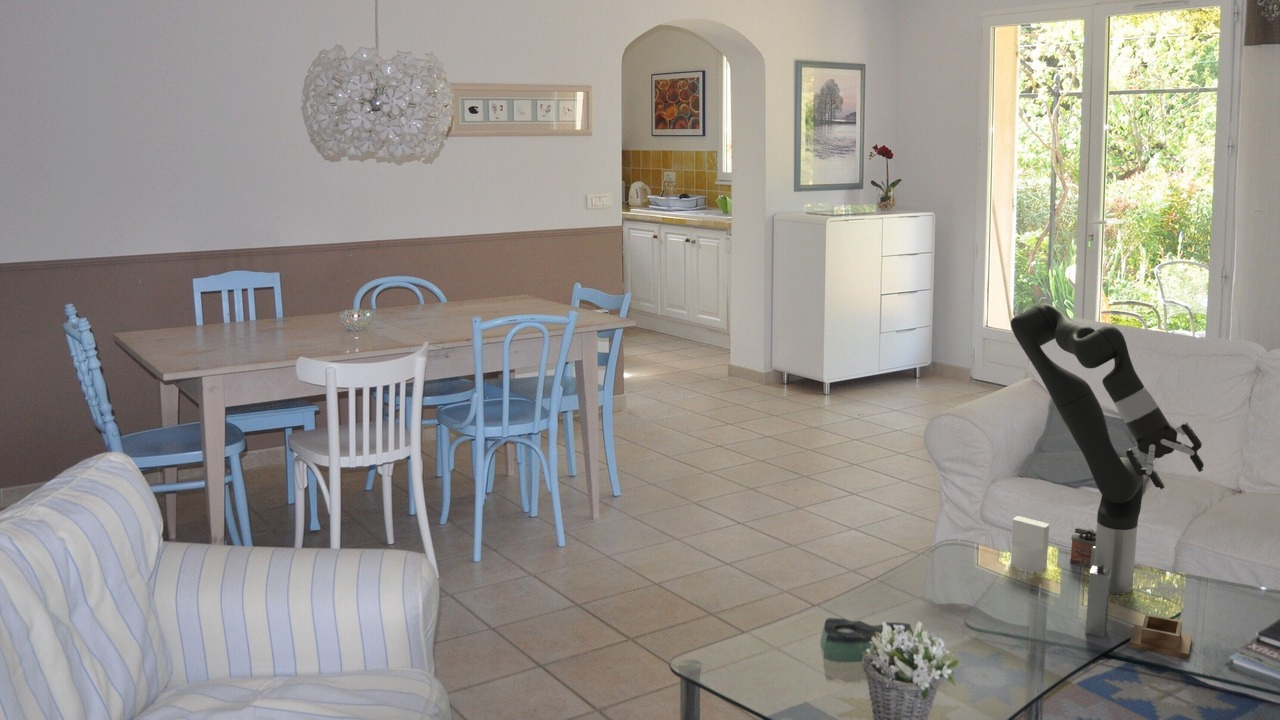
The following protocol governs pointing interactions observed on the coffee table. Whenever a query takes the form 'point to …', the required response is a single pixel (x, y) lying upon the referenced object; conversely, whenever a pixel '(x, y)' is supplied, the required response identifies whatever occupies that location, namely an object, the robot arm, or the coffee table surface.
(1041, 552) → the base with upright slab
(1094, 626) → the tall gray rectangular post
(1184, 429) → the robot arm
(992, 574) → the coffee table surface
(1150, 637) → the brown open box stand
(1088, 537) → the lighter
